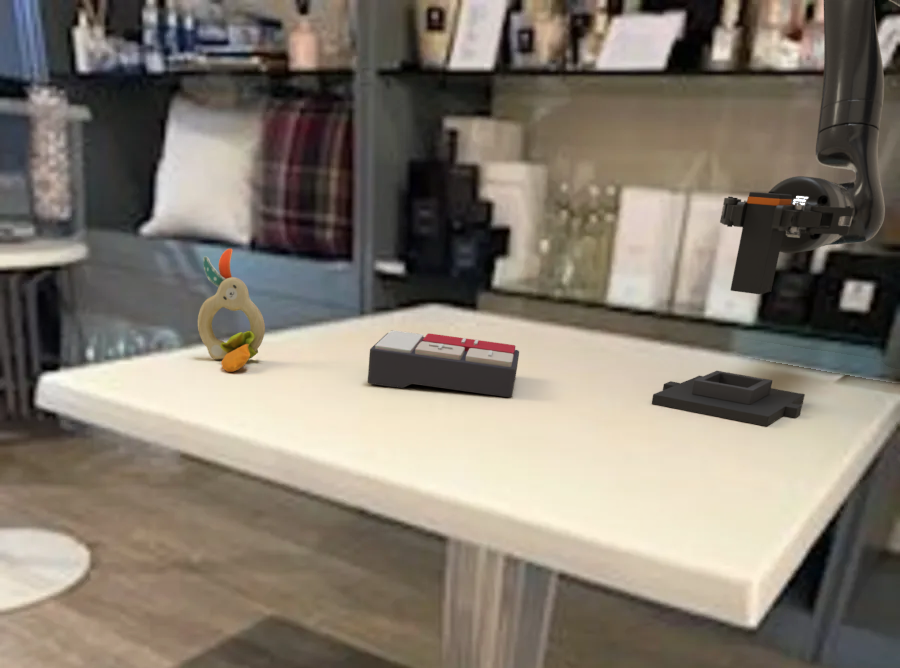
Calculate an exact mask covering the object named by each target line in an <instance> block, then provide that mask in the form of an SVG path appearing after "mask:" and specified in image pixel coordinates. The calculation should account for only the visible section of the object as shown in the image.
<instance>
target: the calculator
mask: <svg viewBox="0 0 900 668" xmlns="http://www.w3.org/2000/svg"><path fill="white" fill-rule="evenodd" d="M519 357H520V350H519V349H516V345H514V344H510V343H502V342H496V341H495V342H494V341H487V340H481V339H474V338H473V339H472V338H467V337H458V336H451V335H444V334H436V333H427V334H426V335H425V336H424V334H423V333H416V332H410V331H401V330H396V329H395V330H394V329H392V330H390V331H389V332H387V333H385V334H384V335H383V336H382V337H381V338H380V339H379V340H378V341H377V342H376V343H375V344H374V345H372V346H371V348H370V349H369V357H368V369H367V371H368V372H367V383H368V384H369V385H376V386H383V387H391V388H399V389H404V388H406V387H408V386H410V385H419V386H425V387H431V388H432V387H433V388H439V389H440V388H441V389H447V390H454V391H461V392H467V393H475V394H482V395H483V394H484V395H490V396H496V397H504V398H511V397H512V396H513V394H514V393H513V392H514V387H515V382H516V376H517V371H518V363H519Z"/></svg>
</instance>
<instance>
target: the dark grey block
mask: <svg viewBox="0 0 900 668" xmlns="http://www.w3.org/2000/svg"><path fill="white" fill-rule="evenodd" d="M791 197H792V195H788V194H775V193H768V192H759V191H758V192H757V191H750V192H749V194H748V196H747V199H746V200H747V208H746V213H745V218H744V223H743V228H742V229H741V234H740V239H739V245H738V250H737V254H736V260H735V265H734V268H733V269H734V270H733V275H732V279H731V280H732V281H731V285H730V291H731V292H738V293H739V292H740V293H745V294H753V295H763V294H767V293H770V292H772V288H773V284H774V280H775V275H776V270H777V266H778V261H779V257H780V253H781V252H780V248H781V243H782V238H783V234H784V231H776V230H772V229H771V227H772V222H773V217H774V212H775V208H776V206H777V205H791Z"/></svg>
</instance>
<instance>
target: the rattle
mask: <svg viewBox="0 0 900 668" xmlns="http://www.w3.org/2000/svg"><path fill="white" fill-rule="evenodd" d="M232 256H233V248H227V249H225V250H224V251H223V253H222V254H221V255H220V258H219V260H218V270H217V269H216V268H215V267H214V265H213V264H212V262H211V260H210V257H208V256H207V255H205V256H203V260H202V261H203V262H202V263H203V264H202V265H203V270H204V273H205V276H206V278H207V279H208V281H209V282H211V284H213V285H214V286H216V287H217V290H216V292H215V294H213V295H212V296H210V297H208V298H207V299H205V300H204V302H203V303H202V304H201V306H200V308H199V312H198V316H197V329H198V334H199V337H200V340H201V341H202V343H203V345H204V346H205V347H206V349H207V353H208V354H209V356H210V358H211V359H213V360H221V362H220V364H221V367H222V369H223V370H224V371H226V372H228V373H230V372H231V373H232V372H233V373H234V372H236V371H238V370H240V369H242V368H243V367H244V366H245V365H246V364H247V363H248V361H249V360H250V359H252V358H253V357H254V356H256V355H258V353H259V348H260V346H261V345H262V342H263V340H264V337H265V333H266V325H265V320H264V316H263V314H262V312H261V310H260V309H259V308H258V306H257V305H256V304H255V303H254V302H253V301H252V300H251V298H250V293H249V289H248V286H247V285H246V283H245V282H244V281H243V280H242V279H241V278H239V277H234V276H232V271H231V259H232ZM223 308H224V309H226V310H228V311H232V312H235V311H241V312H243V313H244V315H245V317H246V318H247V320H248V322H249V329H250V330H247V331H245V332H242V331H240V332H238V333H235V334H234V335H231V336H230V337H229V338H228V339H227V341H224V340H221V339H219V338H217V337H216V335H215V333H214V329H213V320H214V317H215V316H216V314H217V313H218V312H219V311H220V310H221V309H223Z"/></svg>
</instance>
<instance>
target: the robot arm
mask: <svg viewBox="0 0 900 668" xmlns="http://www.w3.org/2000/svg"><path fill="white" fill-rule="evenodd" d="M888 1H889V2H892V3H893V4H895V5H896V6H898V7H900V0H888ZM875 2H876V0H823V35H824V36H823V40H824V45H823V46H824V48H823V49H824V50H823V52H824V54H823V56H824V58H823V60H824V61H823V63H824V64H823V77H822V78H823V79H822V90H821V91H822V92H821V100H820V109H819V117H818V123H817V124H818V125H817V132H816V133H817V134H816V140H815V141H816V142H815V160H816V161H817V163H818V164H819V165H821V166H824V167H827V168H833V169H841V170H847V171H851V172H853V173H854V174H855V175H854V176H855V177H854V178H855V180H854V181H847V182H839V183H837V182H833V181H829V180H827V179H825V178H820V177H812V176H802V175H797V176H792V177H787V178H785V179H783V180H782V181H780V182H778V183H777V184H776V185H773V187H772V188H770V190H769V191H768V192H767V193H775V194H788V195H792V197H791V205H777V206H776V208H775V212H774V217H773V222H772V227H771V229H772V230H776V231H784V234H783V238H782V243H781V248H780V252H779V253H783V254H796V253H803V252H808V251H813V250H816V249H820V248H821V247H824V246H835V245H846V244H847V245H848V244H859V243H865V242H868V241H870V240H871V239H873V238H874V237H875V236H876V235H877V234H878V232H879V231H880V229H881V227H882V226H883V223H884V220H885V215H886V206H885V198H884V191H883V187H882V182H881V176H880V175H881V174H880V168H879V137H880V129H881V120H882V112H883V106H884V97H885V75H884V66H883V58H882V53H881V47H880V41H879V35H878V29H877V28H878V27H877V20H876V6H875V5H876V3H875ZM746 208H747V199H745V200H743V201H742V198H738V197H734V196H728V197H724V199H723V204H722V209H721V215H720V220H719V223H720V224H722V225H724V226H726V227H727V228H728V227H729V228H733V227H735V228H742V229H743V223H744V218H745V213H746Z"/></svg>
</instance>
